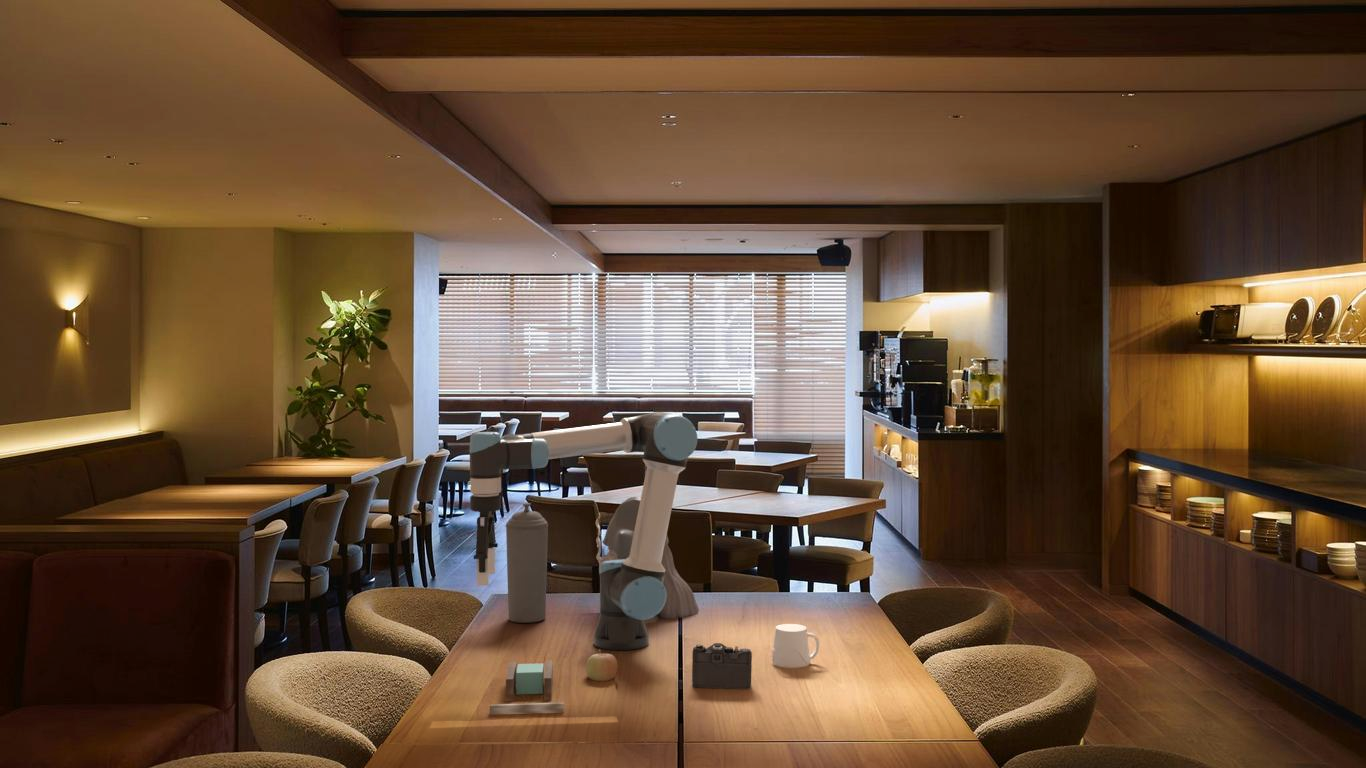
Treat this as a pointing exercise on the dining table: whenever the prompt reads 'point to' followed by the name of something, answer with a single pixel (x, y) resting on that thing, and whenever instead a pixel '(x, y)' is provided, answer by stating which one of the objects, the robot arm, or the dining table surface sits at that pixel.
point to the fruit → (601, 667)
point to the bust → (677, 589)
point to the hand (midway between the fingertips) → (486, 579)
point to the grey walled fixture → (527, 707)
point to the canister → (527, 566)
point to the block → (530, 678)
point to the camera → (721, 667)
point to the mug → (792, 646)
